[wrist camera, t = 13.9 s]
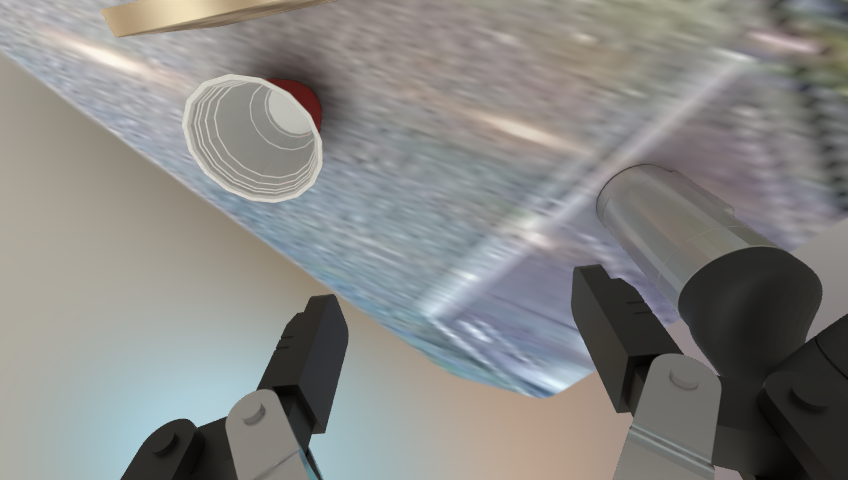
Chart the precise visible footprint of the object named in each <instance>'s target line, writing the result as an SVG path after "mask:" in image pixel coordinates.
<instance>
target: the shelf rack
mask: <svg viewBox="0 0 848 480" xmlns="http://www.w3.org/2000/svg"><path fill="white" fill-rule="evenodd" d="M332 1H336V0H140V1H136V2H132V3H128V4H123V5H119V6H115V7H110V8H106V9H102V10H100V11H101V13H102V15H103V17H104V18H105V20H106V22H107V24H108V25H109V27H110V29H111V31H112V33H113V34H114V36H115V37H125V36H134V35H144V34H153V33H163V32H172V31H182V30H191V29H201V28H210V27H219V26H223V25H228V24H232V23H237V22H241V21H246V20H251V19H255V18H260V17H264V16H269V15H273V14H278V13H282V12H287V11H291V10H296V9H300V8H305V7H309V6H314V5H318V4H323V3H327V2H332Z"/></svg>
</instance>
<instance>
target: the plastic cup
mask: <svg viewBox="0 0 848 480" xmlns="http://www.w3.org/2000/svg"><path fill="white" fill-rule="evenodd" d="M320 124H321V106H320V104H319V101H318V99H317V97H316V95H315V94H314V93H313V92H312V91H311V90H310V89H309V88H308V87H307V86H305V85H303V84H301V83H300V82H298V81H292V80H286V79H284V80H281V79H263V78H258V77H251V76H243V75H236V74H228V75H224V76H221V77H218V78H215V79H211V80H208V81H205V82H203V83H202V84H201V85H200V86H199V87H198V88H197V90H196V91H195V92H194V93H193V94H192V95H191V96H190V97H189V98H188V99H187V101H186V106H185V111H184V116H183V122H182V127H183V131H184V135H185V138H186V142H187V146H188V150H189V152H190V153H191V154H192V156H193V157H194V159H195V160H196V162H197V163H198V164H199V166H200V167H201V169H202V170H203V172H204V173H205V174H206V175H208V176H209V177H210V178H211V179H213V180H214V181H215V182H217V183H218V184H219V185H220V186H222V187H223V188H224V189H225V190H227V191H229V192H232V193H234V194H237V195H239V196H242V197H244V198H246V199H249V200H252V201H263V202H273V203H276V202H280V201H284V200H288V199H292V198H296V197H298V196H299V195H301V194H302V193H303V192H304V191H306V190H307V189H308V188H309V187H311V186H312V185H313V184H314V182H315V180H316V178H317V176H318V174H319V171H320V169H321V167H322V165H323V163H322V140H321V137H320V135H319V133H320Z"/></svg>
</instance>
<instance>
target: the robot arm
mask: <svg viewBox="0 0 848 480" xmlns="http://www.w3.org/2000/svg"><path fill="white" fill-rule="evenodd" d="M597 214H598V217H599V219H600V221H601V222H602V223H603V225H604V226H605V227H606V228H607V229H608V231H609V232H610V233H611V234H612V235H613V237H614V238H615V239H616V240H617V242H618V243H619V244H620V245H621V246H622V248H623V249H624V250H625V251H626V252H627V254H628V255H629V256H630V257H631V258H632V259H633V261H634V262H635V263H636V264H637V265H638V267H639V268H640V269H641V270H642V271H643V273H644V274H645V275H646V276H647V277H648V279H649V280H650V281H651V282H652V283H653V285H654V286H655V287H656V288H657V289H658V290H659V292H660V293H661V294H662V295H663V296H664V297H665V299H666V300H667V301H668V302H669V303H670V305H671V306H672V307H673V308H674V309H675V311H676V312H677V313H678V314H679V315H680V317H681V318H682V319H683V320H684V322H685V323H686V324H687V325H688V326H689V329H690V332H691V335H692V337H693V339H694V341H695V343H696V344H697V346H698V347H699V348H700V350H701V351H702V352H703V354H704V355H705V356H706V358H707V359H708V360H709V361H710V363H711V364H712V366H713V367H714V368H715V370H716V371H717V372H718V374H719V375H720V376H718V375H716V374H715V373H714V372H713V371H712V370H711V369H710V368H709V367H707V366H706V365H705V364H703V363H702V362H700V361H698V360H696V359H694V358H692V357H689V356H686V355H684V354H683V353H682V351H681V350H680V349H679V347H678V346H677V344H676V343H675V342H674V340H673V339H672V338H671V336H670V335H669V334H668V332H667V331H666V329H665V328H664V327H663V325H662V324H661V323H660V321H659V320H658V318H657V317H656V316H655V314H653V313H652V310H651V309H650V308H649V306H648V305H647V303H645V302H644V299H643V298H642V297H641V295H640V294H639V292H638V291H637V290H636V288H634V287H633V286H631V285H630V284H628V283H627V282H625V281H624V280H623V279H621V278H617V279H611V278H610V277H609V275H608V274H607V272H606V271H605V269H604V268H603V267H602V265H600V264H596V265H588V266H579V267H575V268H574V271H573V284H572V298H571V308H572V314H573V318H574V321H575V323H576V325H577V327H578V329H579V332H580V334H581V336H582V338H583V340H584V343H585V345H586V347H587V349H588V351H589V353H590V356H591V358H592V360H593V362H594V364H595V367H596V369H597V371H598V373H599V375H600V377H601V380H602V382H603V384H604V386H605V388H606V391H607V393H608V395H609V397H610V399H611V401H612V404H613V406H614V408H615V410H616V412H617V413H626V412H631V414H632V416H633V418H634V419H633V422H632V425H631V427H630V428H629V431H628V434H627V437H626V440H625V443H624V446H623V449H622V452H621V455H620V458H619V461H618V464H617V467H616V471H615V474H614V477H613V480H714V477H715V468H714V466H713V465H715V466H719V467H724V468H727V469H731V470H735V471H738V472H739V473H740V475H741V477H742V479H743V480H848V314H846V315H845V316H843V317H842V318H840V319H839V320H837V321H836V322H834V323H833V324H831V325H830V326H828V327H827V328H826V329H824V330H823V331H821V332H820V333H819V334H818V335H817V336H814V337H813V338H812V339H810V340H809V341H808V342H806V343H805V341H806V336H807V333H808V330H809V328H810V326H811V323H812V321H813V319H814V317H815V315H816V313H817V311H818V309H819V306H820V303H821V300H822V285H821V282H820V280H819V278H818V276H817V275H816V274H815V273H814V271H813V270H812V269H811V268H809V267H808V266H807V265H806V264H804V263H803V262H801V261H800V260H798V259H797V258H795V257H794V256H792V255H791V254H789V253H788V252H786V251H785V250H783V249H782V248H780V247H779V246H777V245H776V244H774V243H773V242H771V241H770V240H768V239H767V238H765V237H764V236H762V235H761V234H759V233H758V232H756V231H755V230H753V229H752V228H750V227H749V226H747V225H746V224H744V223H743V222H741V221H740V220H738V219H737V218H735V217H734V216H733V214H734V209H733V207H732V206H730V205H729V204H727V203H726V202H724V201H723V200H721V199H720V198H718V197H716V196H715V195H713V194H712V193H710V192H709V191H707V190H706V189H704V188H702V187H701V186H699V185H698V184H696V183H695V182H693V181H692V180H690V179H689V178H687V177H685V176H684V175H682V174H681V173H679V172H678V171H672V172H668V171H666V170H664V169H662V168H661V167H658V166H654V165H640V166H635V167H632V168H629V169H627V170H625V171H623V172H621V173H619V174H618V175H616V176H615V177H614V178H612V179H611V180H610V181H609V182H608V184H607V185H606V186H605V187H604V189H603V190H602V192H601V194H600V196H599V198H598V202H597ZM347 345H348V327H347V324H346V321H345V319H344V316H343V314H342V311H341V308H340V306H339V303H338V301H337V298H336V296H335V295H334V294H328V295H320V296H312V297H311V298H310V299H309V301H308V304H307V306H306V308H305V311H304V312H302V313H297V314H296V315H295V316H294V317H293V318H292V319H291V321H290V322H289V323H288V324H287V325H286V327H285V329H284V332H283V334H282V336H281V340H279V342H278V344H277V347H276V350H275V351H274V353H273V355H272V357H271V360H270V362H269V364H268V366H267V368H266V370H265V372H264V375H263V377H262V379H261V381H260V383H259V386H258V387H257V390H256V391H254V392H252V393H250V394H248V395H246V396H245V397H243V398H242V399H241V400H239V401H238V402H237V403H236V404H235V406H234V407H233V408H232V409H231V411H230V413H229V414H228V416H227V417H224V418H221V419H219V420H216V421H213V422H211V423H208V424H206V425H203V426H200V427H198V428H197V427H196V426H195V425H194V424H193V423H192V422H191V421H190V420H188V419H177V420H174V421H171V422H169V423H167V424H165V425H163V426H162V427H160V428H158V429H157V430H156V431H155V432H153V433H152V434H151V435H150V436H149V437H148V438H147V439H146V440H145V442H144V443H143V445H142V446H141V447H140V449H139V450H138V452H137V454H136V455H135V457H134V458H133V460H132V462H131V463H130V465H129V466H128V468H127V470H126V472H125V473H124V475H123V476H122V478H121V480H324V479H323V477H322V475H321V472H320V470H319V468H318V466H317V463H316V461H315V459H314V457H313V455H312V452H311V450H310V448H309V447H308V445H309V442H310V439H311V435H312V434H321V433H325V431H326V426H327V423H328V419H329V415H330V411H331V407H332V403H333V399H334V395H335V392H336V388H337V384H338V379H339V376H340V372H341V368H342V364H343V360H344V356H345V352H346V348H347Z"/></svg>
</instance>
